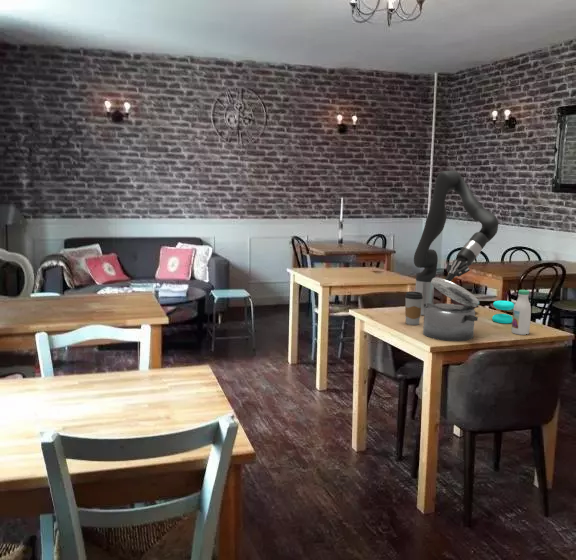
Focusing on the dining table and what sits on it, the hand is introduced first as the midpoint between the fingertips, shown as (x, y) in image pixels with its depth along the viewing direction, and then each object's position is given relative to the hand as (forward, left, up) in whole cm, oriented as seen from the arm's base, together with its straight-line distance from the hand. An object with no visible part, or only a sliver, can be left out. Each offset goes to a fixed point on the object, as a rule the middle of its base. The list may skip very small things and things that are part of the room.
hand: (446, 281), depth 287 cm
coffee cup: (-17, -16, -25) cm, 34 cm away
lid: (-4, +3, -6) cm, 8 cm away
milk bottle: (-19, +33, -25) cm, 45 cm away
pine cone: (-57, +5, -25) cm, 62 cm away
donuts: (-40, +25, -25) cm, 53 cm away
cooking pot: (-2, +2, -25) cm, 25 cm away
